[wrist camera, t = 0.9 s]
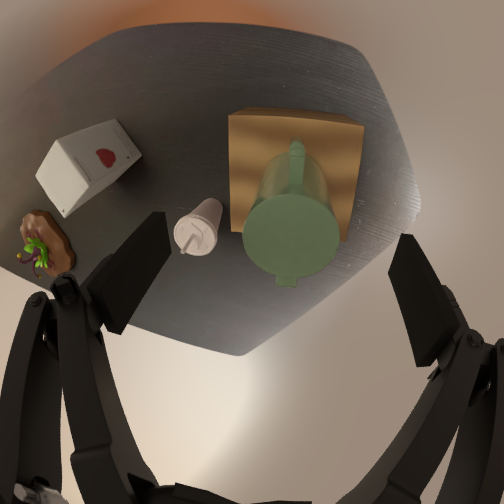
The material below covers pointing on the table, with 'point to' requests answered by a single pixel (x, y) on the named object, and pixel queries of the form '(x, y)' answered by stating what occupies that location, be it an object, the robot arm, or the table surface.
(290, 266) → the jug
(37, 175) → the rectangular carton
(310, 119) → the stand
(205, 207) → the smoothie
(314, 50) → the table surface
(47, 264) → the plant
